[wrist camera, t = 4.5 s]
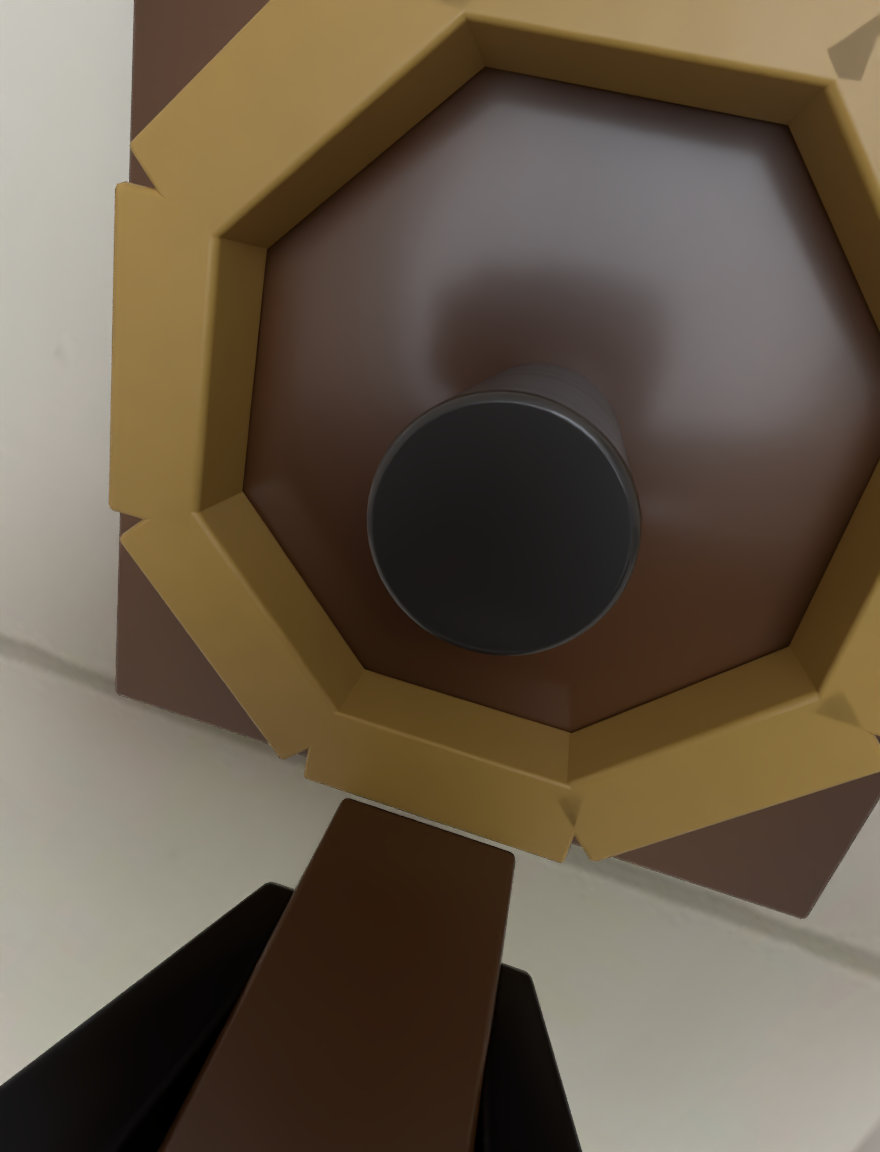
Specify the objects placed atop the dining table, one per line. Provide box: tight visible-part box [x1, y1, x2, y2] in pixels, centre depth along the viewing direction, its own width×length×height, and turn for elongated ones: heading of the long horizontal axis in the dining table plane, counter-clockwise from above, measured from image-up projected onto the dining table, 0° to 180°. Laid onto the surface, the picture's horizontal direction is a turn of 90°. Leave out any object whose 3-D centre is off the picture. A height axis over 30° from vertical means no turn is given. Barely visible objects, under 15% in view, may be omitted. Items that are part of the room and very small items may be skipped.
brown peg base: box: [115, 0, 880, 919], centre depth 7 cm, size 11×11×4 cm
